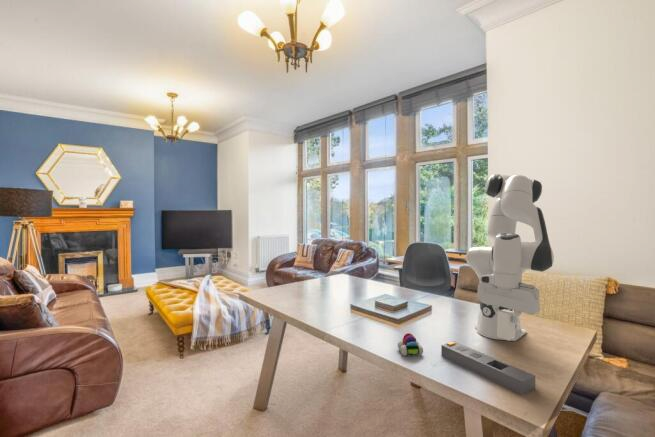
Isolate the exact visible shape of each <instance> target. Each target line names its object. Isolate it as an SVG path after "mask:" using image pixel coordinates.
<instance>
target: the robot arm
mask: <svg viewBox="0 0 655 437" xmlns="http://www.w3.org/2000/svg"><path fill="white" fill-rule="evenodd" d="M485 193H486V195H487V196H488V197H491V198H493V199H495V198H496V200H495V202H494V203H493V207H492V209H491V212H490V216H489V221H488V224H487V225H488V226H487V230H486V232H487V235H488V237H489V238H490V239H492V240H493V242H494V243H493V246H491V247H490V246H483V245H482V246H473V247H470V248H469V249H468V251H467V252H466V254H465V261H466V263H467V265H468V266H469V267H470V268H471V269H472V270H473V271H474V272H475V274H476V275H477V278H478V281H479V283H478V286H477V295H476V296H477V299H478V301H479V309H480V310H479V311H478V312H477V314H478V315H477V323H476V325H474V328H475V329H476V332H477V333H478V334H479V335H481V336H483V337H484V338H485V337H486V338H489V339H493V340H499V341H500V340H501V341H502V340H503V341H506V340H505V339H502V338H500V337H497V311H500V310H503V309H505V310H509V311H512V310H513V312H514V313H516V314H515V315H514V316H513V317H511V322H513V323H515V338H514V339H512V340H509V341H511V342H516V341H517V340H520V338H522V336H524V335H526V334H527V330H526V329H525V328H522V327H521V320H520V316H521V315H522V313H523V314H528V315H537V314H538V313H539V312H540V311H541V305H540V290H539V289H538V287H535V285H532V284H526V283H523V273H524V272H526V270H531V271H536V272H541V273H543V272H545V271H548V269H550V268H552V267H553V265H554V261H555V260H554V259H555V258H554V257H555V256H554V252H553V249H552V247H551V244H550V240H549V236H548V235H549V234H548V231H547V230H548V229H547V225H546V220H545V217H544V213H543V211H542V208H540V207H538V206H537V205H535V203H536V202H537V201H538V200H539V199H540V197H541V196H542V193H543V185H542V182H540V181H539V180H537V179H530V178H528V177H527V176H524V175H522V174H517V175H504V174H503V175H502V174H497V173H495V174H492V175H491V176H489V178H487V180H486V182H485ZM518 222H519V223H522V224H525V225H527V226H530V227H531V228H532V229H533V233H534V238H535V241H532V242H529V241H522V240H521V236H520V235H519V234H517V233H516V229H517V223H518Z"/></svg>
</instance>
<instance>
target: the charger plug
mask: <svg viewBox="0 0 655 437" xmlns="http://www.w3.org/2000/svg"><path fill="white" fill-rule="evenodd" d="M515 314H516V313H514V311H512V310H511V311H509V310H505V309H503V310H500V311H497V337H500V338H502V339H505V340H504V341H510V340H512V339H514V338H515V323H513V322H511V317H513V316H514V315H515Z"/></svg>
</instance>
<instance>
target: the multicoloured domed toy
mask: <svg viewBox="0 0 655 437" xmlns="http://www.w3.org/2000/svg"><path fill="white" fill-rule="evenodd" d="M397 348H398V350H400V353H401V355H402V356H404V357H407V355H408V354H410V355H415V354H417V356H421V355H423V353H424V348H423V346H422V345H421V344H420V342H419V341H418V340H417V338H416V337H415V335H413V333H411V332H410V333H409V332H408V333H406V334H404V335H403V338H402V340H399V341H398V342H397Z"/></svg>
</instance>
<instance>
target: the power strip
mask: <svg viewBox="0 0 655 437" xmlns="http://www.w3.org/2000/svg"><path fill="white" fill-rule="evenodd" d="M440 353H441V354H440V355H441V357H443V358H446V359H448V360H450V361H451V362H454V363H455V364H458V365H460V366H462V367H463V368H465V369H468V370H470V371H472V372H474V373H476V374H478V375H481V376H482V377H484V378H485V379H489V380H491V381H493V382H495V383H497V384H499V385H501V386H503V387H505V388H507V389H509V390H510V391H513V392H516V393H518V394H519V395H521V396H524V395H525V394H527V393H529V392H531V391H534V390H535V389H536V375H535V374H533V373H531V372H528V371H525V370H523V369H521V368H520V367H519V368H518V367H516V366H513V365H511V364H509V363H507V362H504V361H502V360H500V359H497V358H495V357H492V356H490V355H488V354H485V353H483V352H481V351H478V350H476V349H473V348H471V347H468V346H466V345H464V344H462V343H460V342H457V341H454V340H453V341H449V342H446V343H444V344H441V352H440Z"/></svg>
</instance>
